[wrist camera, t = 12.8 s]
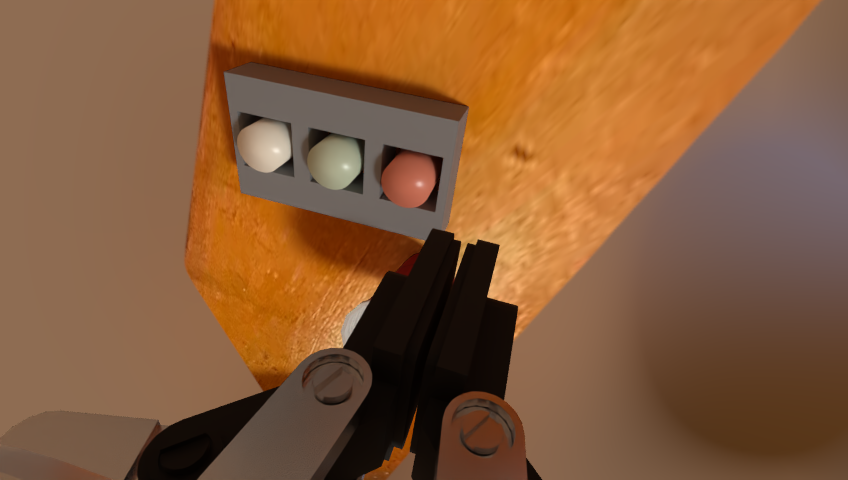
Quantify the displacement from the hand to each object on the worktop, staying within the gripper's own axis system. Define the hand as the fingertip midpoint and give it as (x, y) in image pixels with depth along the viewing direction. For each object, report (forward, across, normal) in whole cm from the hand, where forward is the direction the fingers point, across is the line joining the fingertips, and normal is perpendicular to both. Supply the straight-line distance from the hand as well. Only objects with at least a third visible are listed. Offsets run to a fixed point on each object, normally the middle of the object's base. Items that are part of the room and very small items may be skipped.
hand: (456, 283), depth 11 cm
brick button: (+29, +8, +11) cm, 32 cm away
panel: (+29, +15, +11) cm, 35 cm away
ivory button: (+29, +22, +11) cm, 38 cm away
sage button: (+29, +15, +11) cm, 34 cm away
